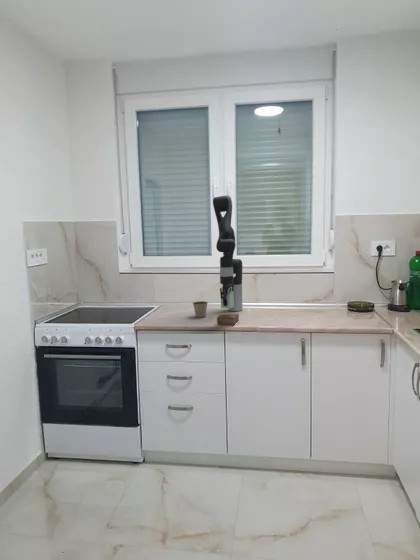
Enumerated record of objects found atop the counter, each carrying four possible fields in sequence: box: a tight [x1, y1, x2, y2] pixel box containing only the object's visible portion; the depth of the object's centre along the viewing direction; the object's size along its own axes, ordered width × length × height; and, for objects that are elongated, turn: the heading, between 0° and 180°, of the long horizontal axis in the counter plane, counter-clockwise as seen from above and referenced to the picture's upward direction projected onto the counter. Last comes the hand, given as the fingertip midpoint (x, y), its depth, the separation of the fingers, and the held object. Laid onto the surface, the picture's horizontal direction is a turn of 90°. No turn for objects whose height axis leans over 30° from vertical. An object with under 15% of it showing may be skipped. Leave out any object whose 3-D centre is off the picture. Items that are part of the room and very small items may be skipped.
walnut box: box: [216, 312, 240, 326], centre depth 237 cm, size 10×10×5 cm
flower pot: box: [192, 300, 209, 318], centre depth 256 cm, size 9×9×9 cm
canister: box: [220, 291, 234, 309], centre depth 236 cm, size 6×6×9 cm
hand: (227, 304), depth 236 cm, fingers closed on canister, 5 cm apart
